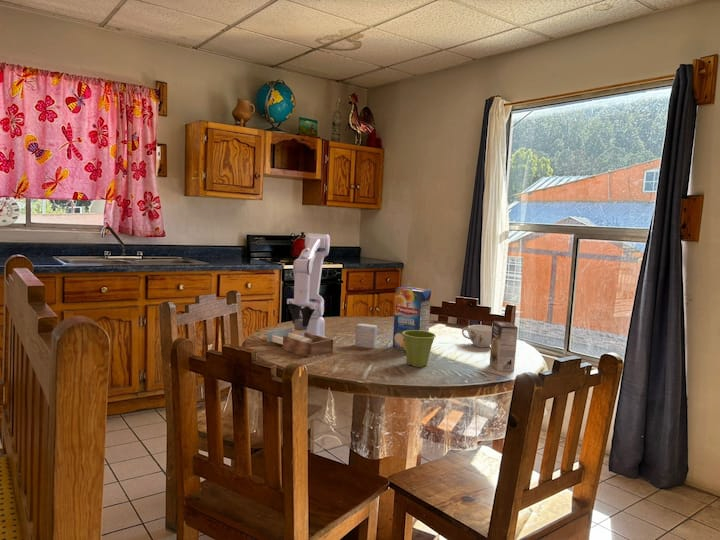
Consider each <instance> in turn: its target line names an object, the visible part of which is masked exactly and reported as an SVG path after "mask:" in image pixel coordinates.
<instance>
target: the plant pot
mask: <svg viewBox="0 0 720 540" xmlns="http://www.w3.org/2000/svg"><path fill="white" fill-rule="evenodd" d="M403 335H404V340H405V347H406V350H405V355H406V364H407V365H409V366H410V365H411V366H412V367H419V368H422V367H425V366H426V367H427V366H428V361H429V358H430V353H431V350H432V346H433V343H434V339H435V338H436V336H437V335H436V334H435V333H433V332H431V331H429V332H427V331H419V330H408V331H404V332H403Z"/></svg>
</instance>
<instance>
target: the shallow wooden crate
mask: <svg viewBox="0 0 720 540" xmlns="http://www.w3.org/2000/svg"><path fill="white" fill-rule="evenodd" d="M304 337H308V338H311V339H313V343H308V342H304V341H301V340H297V339H294V338H290V337H287V336H283V345H282V346H281V349H282V350H284V351H287V352H291V353H294V354H296V355H299V354H300V356H303V357H306V356H307V357H306V358H309V357H310V358H314V357H313V356H315V357H318V356H317V355H319V356H323V355H322V354H324V355H327V353H328V354H332V352H334V351H333V350H334V339H332V338H329V337H326V338H325V337H322V336H318V335H314V334H310V333H307V332H306V333H304Z"/></svg>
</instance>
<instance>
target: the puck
mask: <svg viewBox="0 0 720 540" xmlns="http://www.w3.org/2000/svg"><path fill="white" fill-rule="evenodd" d="M293 325H294V326H293V329H294V331H301V332H302V330H307V326H305V327H304V326H303V319H302V318H299V319H296V320H294V324H293Z"/></svg>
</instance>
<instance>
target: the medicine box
mask: <svg viewBox="0 0 720 540" xmlns="http://www.w3.org/2000/svg"><path fill="white" fill-rule="evenodd" d="M378 327H379V326H378V325H376V324H370V323H369V324H368V323H367V324H366V323H358V324H357V325H355V339H354V346H355V347H359V348H367V349H375V348H376V347H378Z"/></svg>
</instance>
